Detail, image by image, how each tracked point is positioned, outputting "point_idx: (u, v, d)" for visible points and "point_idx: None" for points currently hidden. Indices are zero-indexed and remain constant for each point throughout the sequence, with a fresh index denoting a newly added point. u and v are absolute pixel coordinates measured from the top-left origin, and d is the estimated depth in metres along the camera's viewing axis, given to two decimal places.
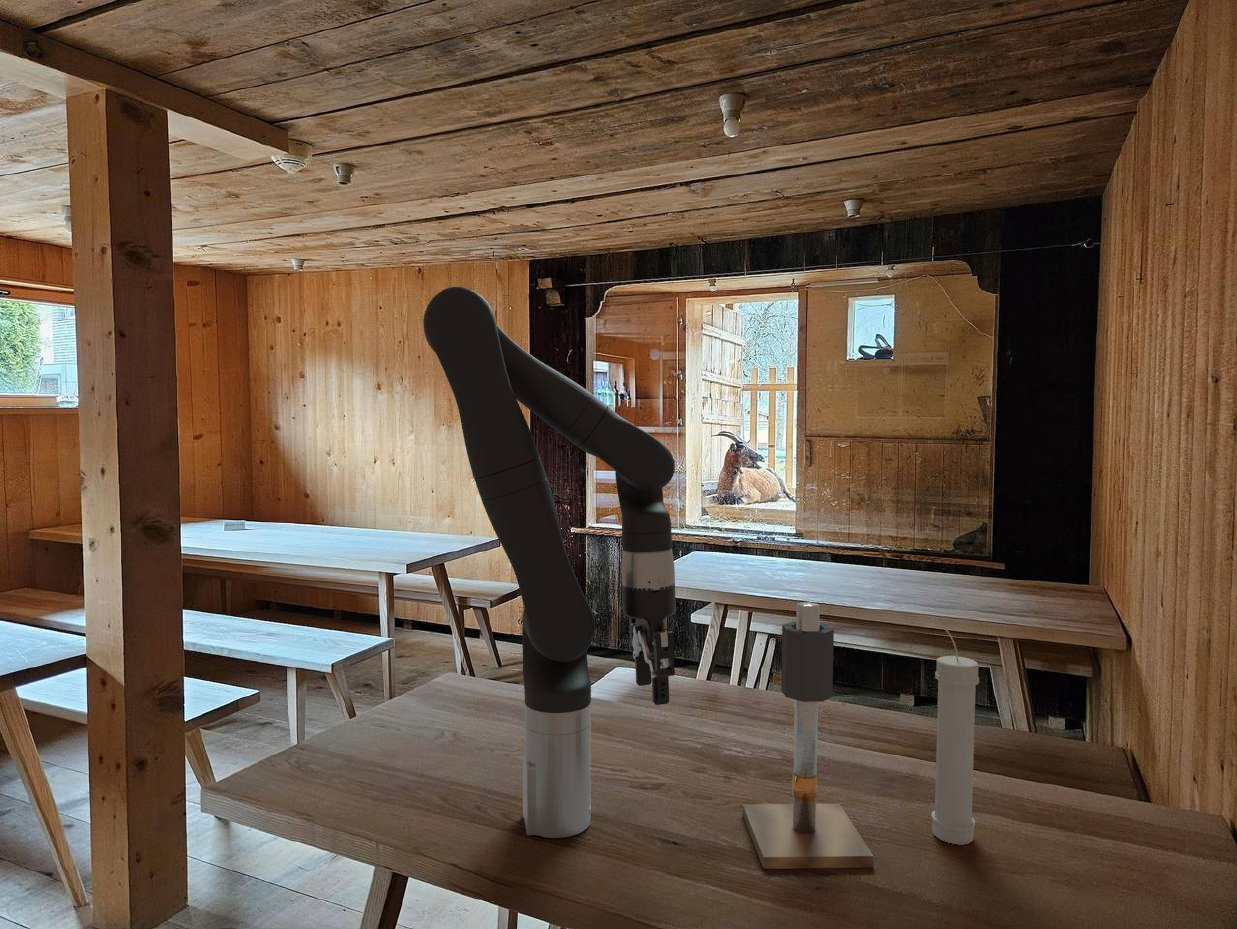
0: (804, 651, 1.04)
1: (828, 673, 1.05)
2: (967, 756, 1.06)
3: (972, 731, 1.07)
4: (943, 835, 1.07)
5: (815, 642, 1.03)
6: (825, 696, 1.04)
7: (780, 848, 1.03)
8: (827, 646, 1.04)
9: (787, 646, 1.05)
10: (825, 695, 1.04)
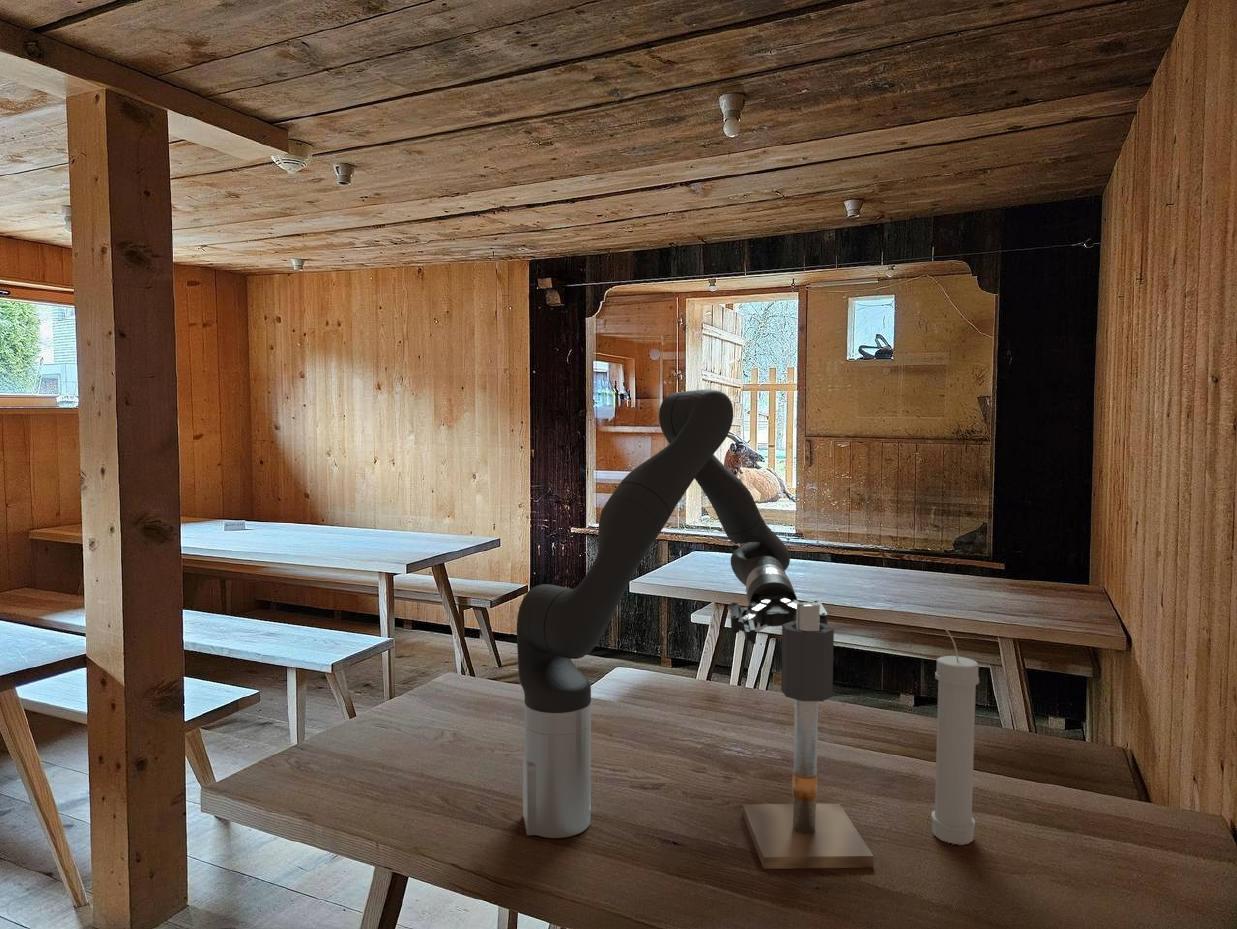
0: (804, 651, 1.04)
1: (828, 672, 1.05)
2: (967, 756, 1.06)
3: (972, 731, 1.07)
4: (943, 835, 1.07)
5: (815, 642, 1.03)
6: (825, 696, 1.04)
7: (780, 848, 1.03)
8: (827, 646, 1.04)
9: (787, 646, 1.05)
10: (825, 695, 1.04)
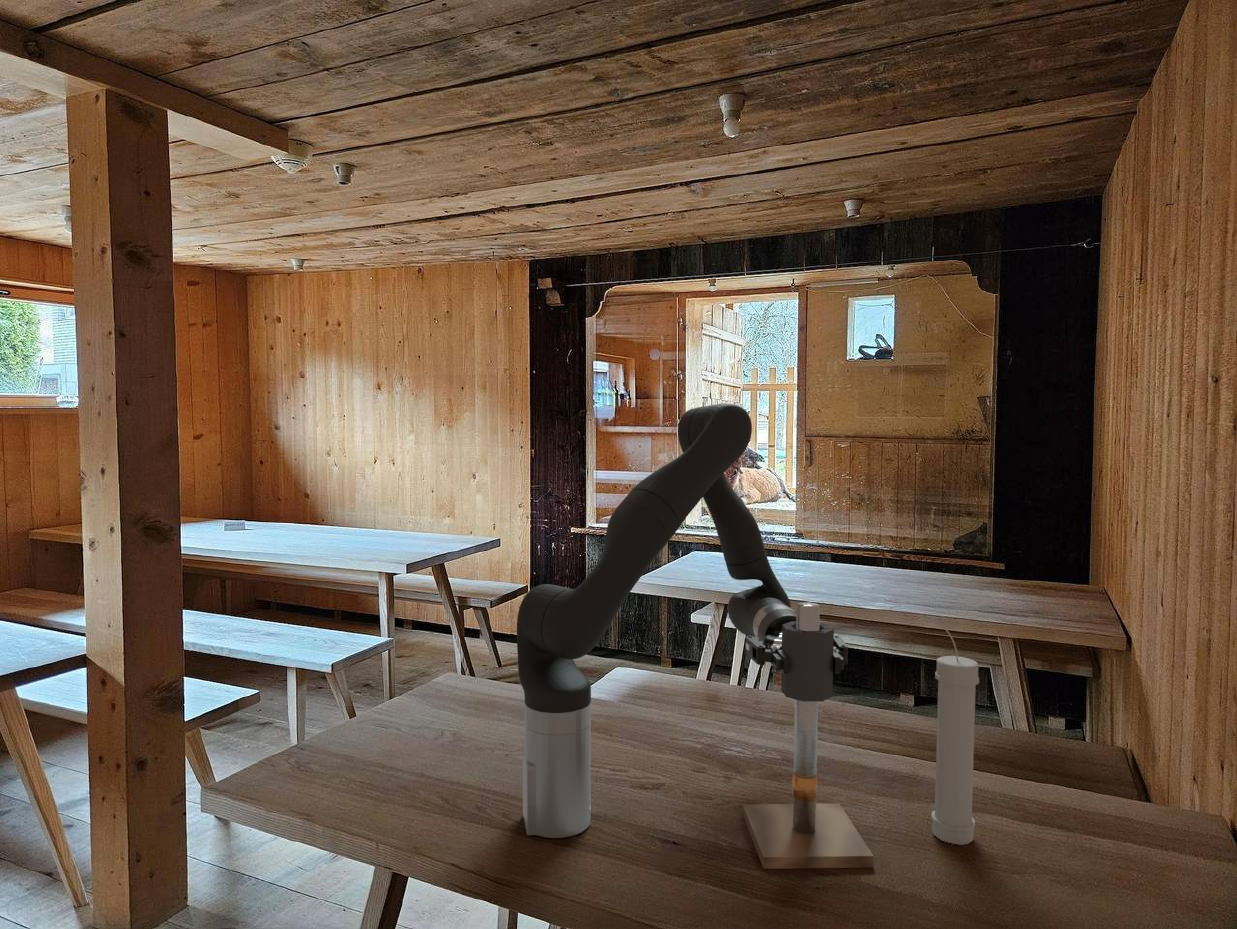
0: (804, 651, 1.04)
1: (828, 673, 1.05)
2: (967, 755, 1.06)
3: (972, 731, 1.07)
4: (943, 835, 1.07)
5: (815, 642, 1.03)
6: (825, 696, 1.04)
7: (780, 848, 1.03)
8: (827, 646, 1.04)
9: (787, 646, 1.05)
10: (825, 695, 1.04)
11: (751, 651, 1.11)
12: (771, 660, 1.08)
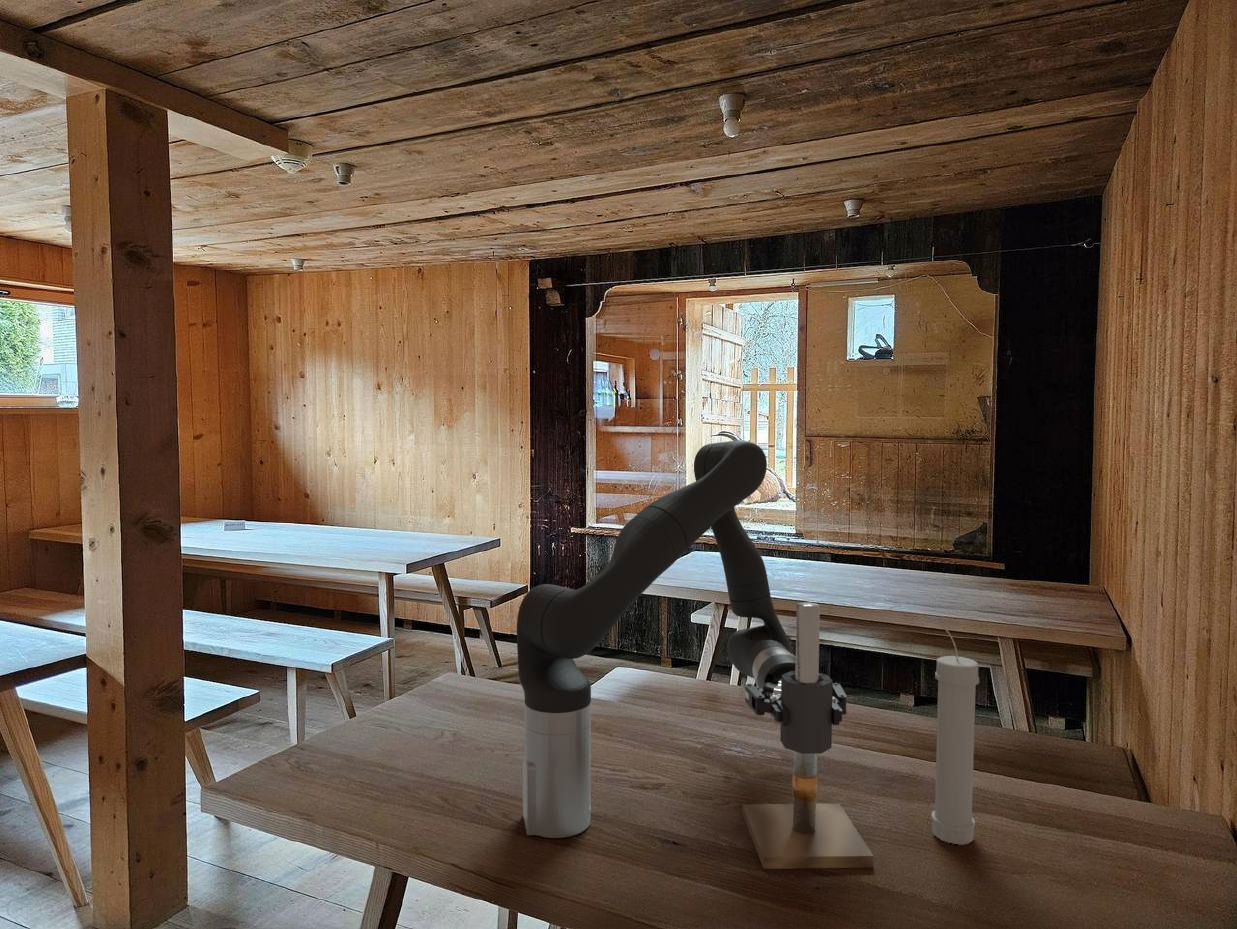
0: (803, 703, 1.04)
1: (827, 724, 1.05)
2: (967, 756, 1.06)
3: (972, 731, 1.07)
4: (943, 835, 1.07)
5: (814, 694, 1.04)
6: (824, 748, 1.05)
7: (780, 848, 1.03)
8: (826, 698, 1.05)
9: (786, 697, 1.06)
10: (824, 746, 1.05)
11: (750, 700, 1.12)
12: (770, 711, 1.08)
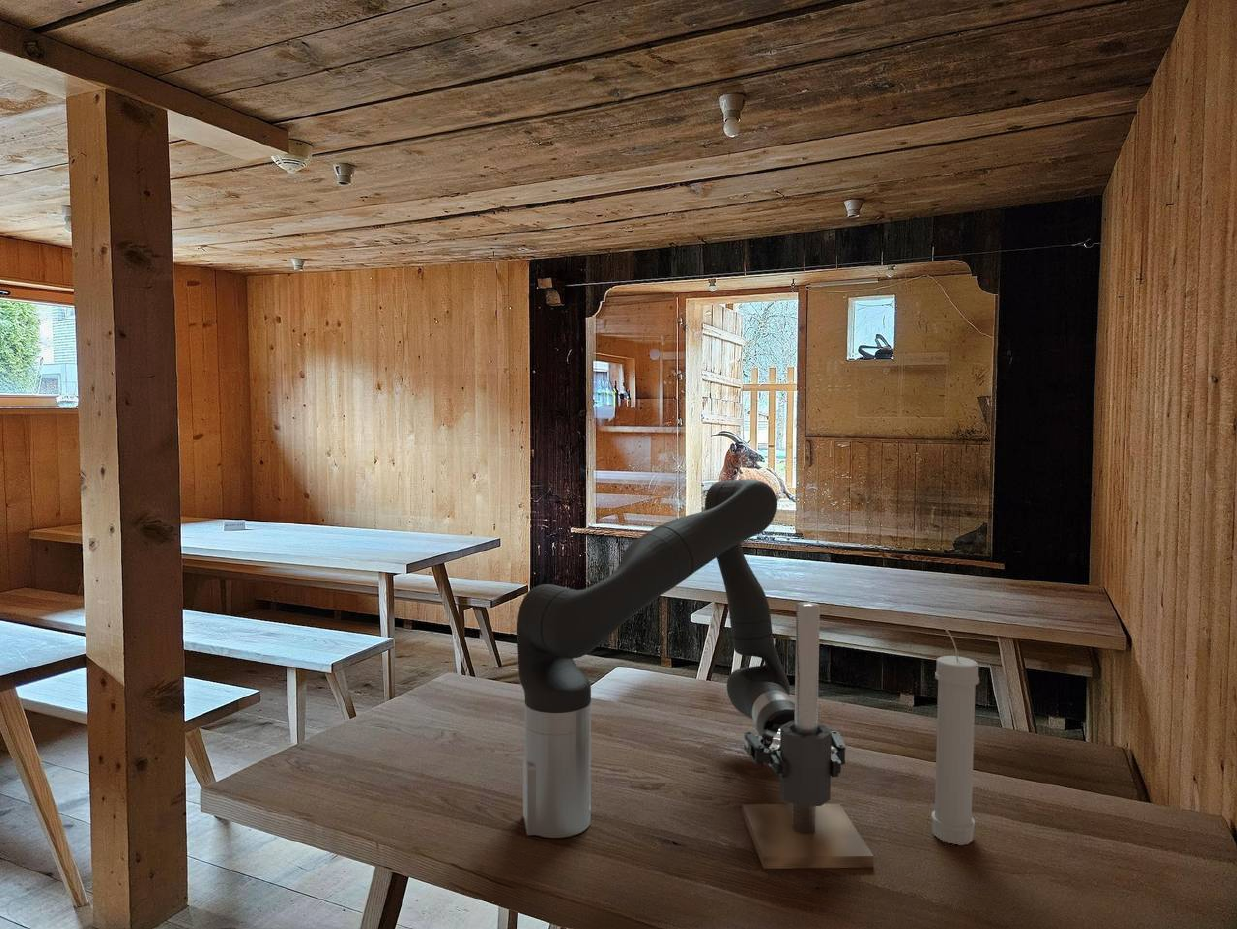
0: (802, 756, 1.04)
1: (826, 776, 1.05)
2: (967, 755, 1.06)
3: (972, 731, 1.07)
4: (943, 835, 1.07)
5: (813, 747, 1.04)
6: (823, 800, 1.05)
7: (780, 848, 1.03)
8: (825, 750, 1.05)
9: (785, 749, 1.06)
10: (823, 799, 1.05)
11: (750, 749, 1.12)
12: (770, 761, 1.09)
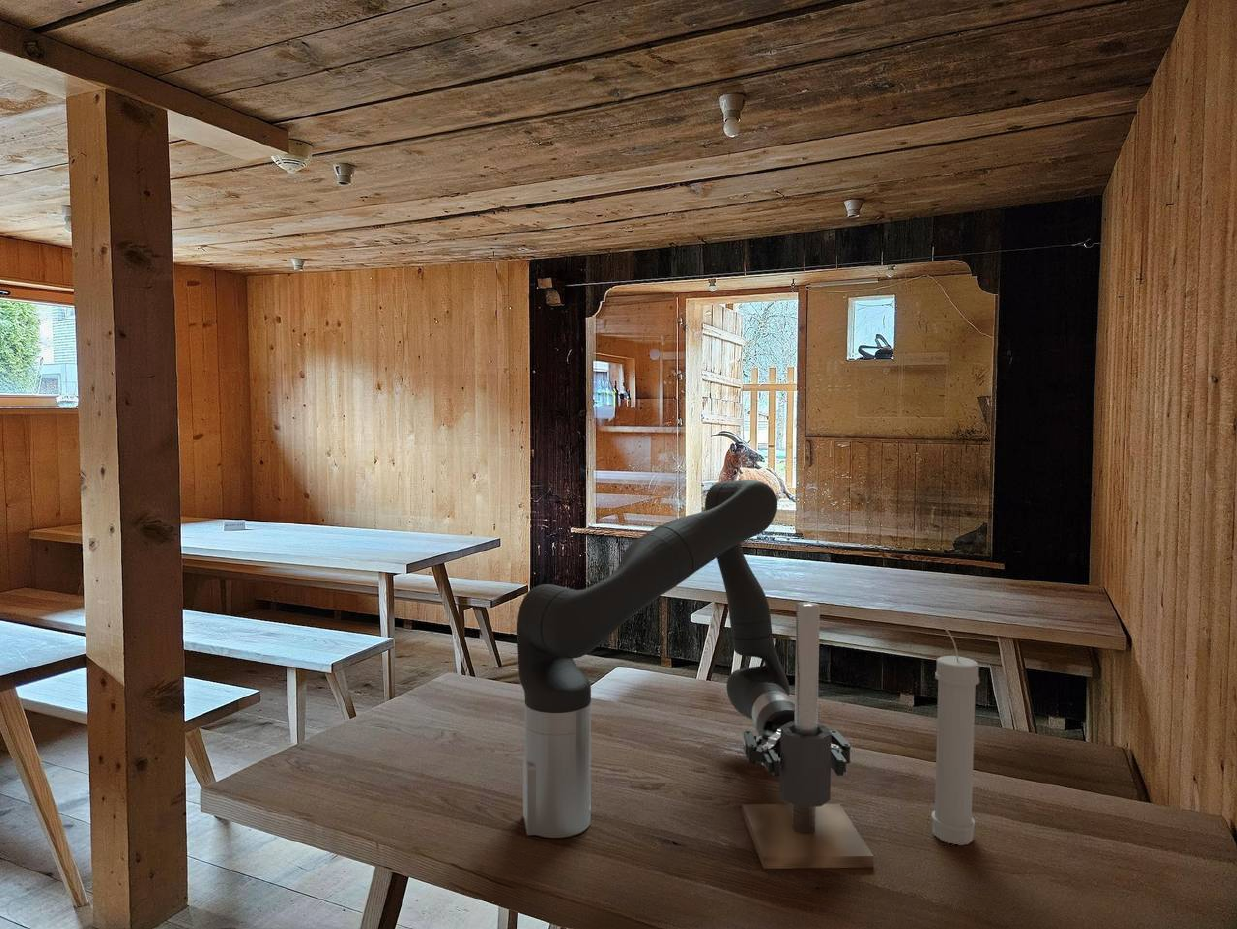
0: (802, 757, 1.04)
1: (826, 777, 1.05)
2: (967, 756, 1.06)
3: (972, 731, 1.07)
4: (943, 835, 1.07)
5: (813, 748, 1.04)
6: (823, 800, 1.05)
7: (780, 848, 1.03)
8: (825, 751, 1.05)
9: (785, 750, 1.06)
10: (823, 799, 1.05)
11: (745, 748, 1.13)
12: (761, 760, 1.09)
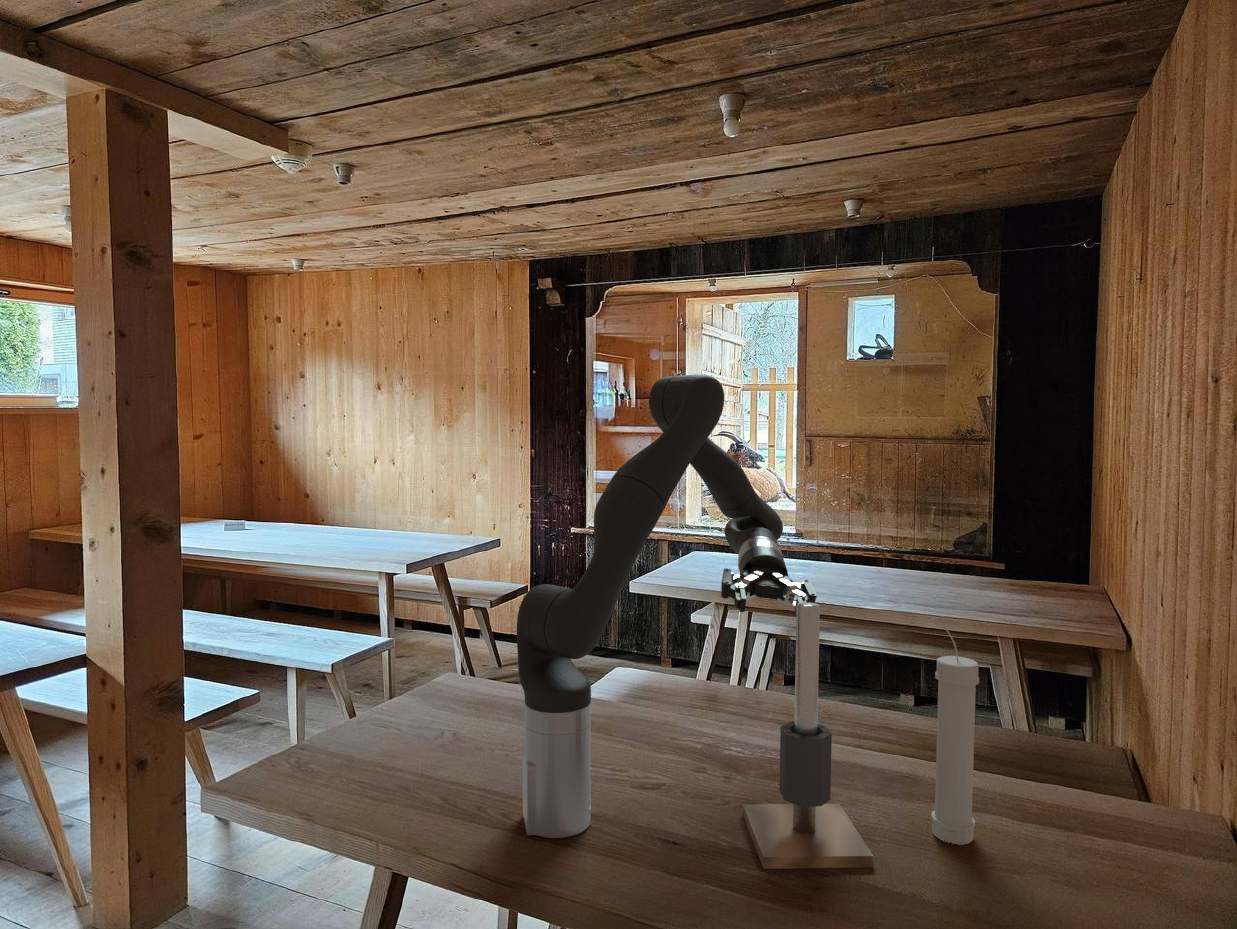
0: (802, 757, 1.04)
1: (826, 777, 1.05)
2: (967, 756, 1.06)
3: (972, 731, 1.07)
4: (943, 835, 1.07)
5: (813, 748, 1.04)
6: (823, 800, 1.05)
7: (780, 848, 1.03)
8: (825, 751, 1.05)
9: (785, 750, 1.06)
10: (823, 799, 1.05)
11: (722, 583, 1.24)
12: (732, 596, 1.21)
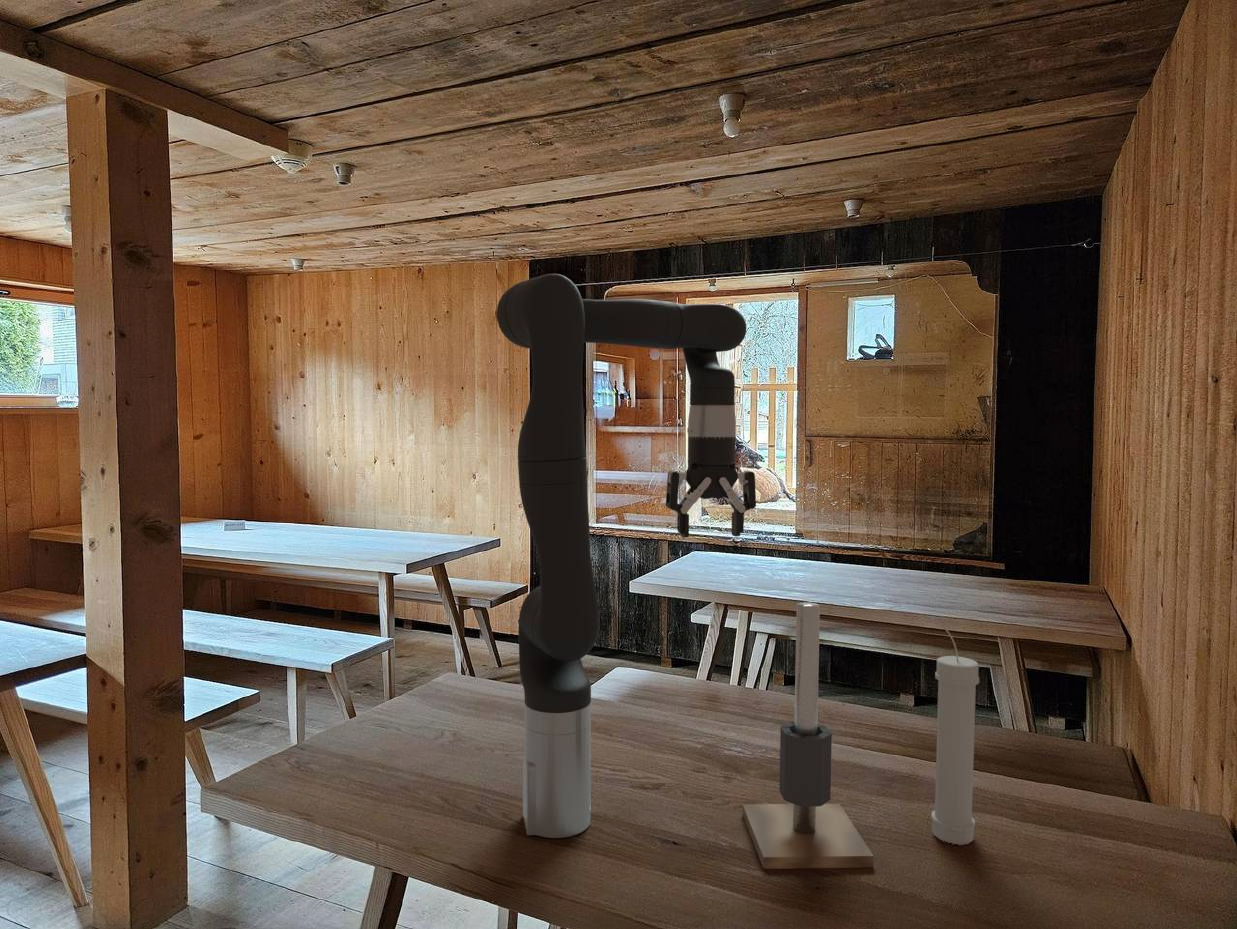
0: (802, 757, 1.04)
1: (826, 777, 1.05)
2: (967, 756, 1.06)
3: (972, 731, 1.07)
4: (943, 835, 1.07)
5: (813, 748, 1.04)
6: (823, 800, 1.05)
7: (780, 848, 1.03)
8: (825, 751, 1.05)
9: (785, 750, 1.06)
10: (823, 799, 1.05)
11: (668, 490, 1.26)
12: None
